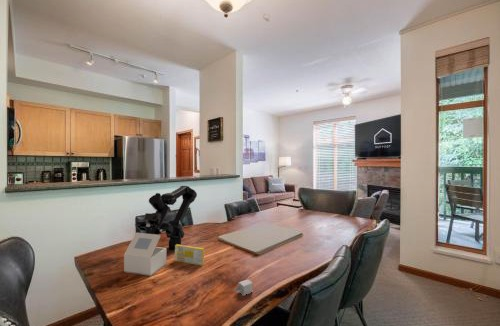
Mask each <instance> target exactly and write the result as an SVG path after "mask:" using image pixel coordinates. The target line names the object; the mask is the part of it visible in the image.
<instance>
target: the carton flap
mask: <svg viewBox="0 0 500 326" xmlns="http://www.w3.org/2000/svg"><path fill="white" fill-rule="evenodd" d="M160 238H161V234H159V235H156V234H146V232H145V233H144V232H135V233H134V236H133V237H132V238H131V241H130V243H129V245H128V247H127V249H126V250H125V252H124V254H123V256H124V255H128V256H136V257H144V258H151V256H152V254H153V252H154V249H155V247H157V246H158V242H159V241H160Z"/></svg>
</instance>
